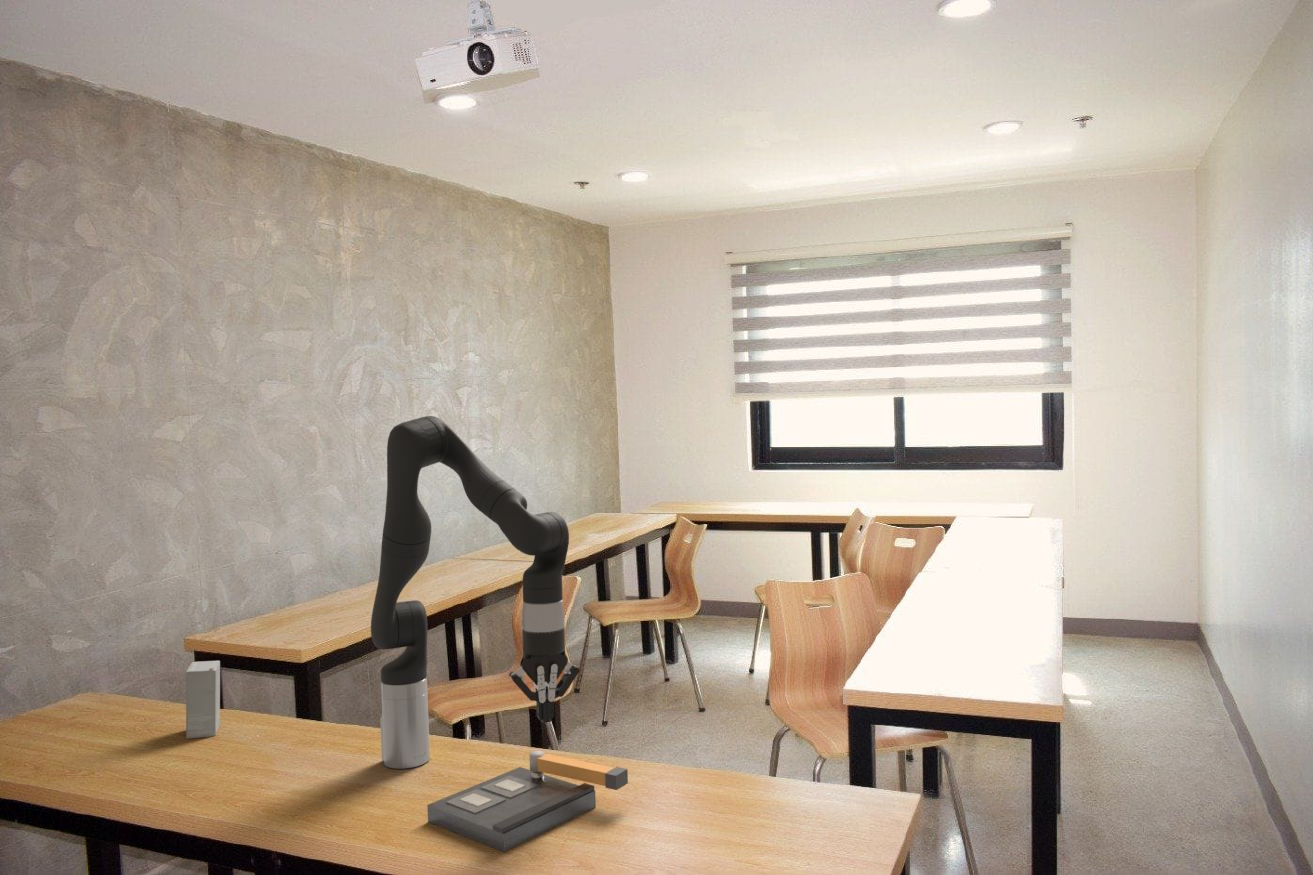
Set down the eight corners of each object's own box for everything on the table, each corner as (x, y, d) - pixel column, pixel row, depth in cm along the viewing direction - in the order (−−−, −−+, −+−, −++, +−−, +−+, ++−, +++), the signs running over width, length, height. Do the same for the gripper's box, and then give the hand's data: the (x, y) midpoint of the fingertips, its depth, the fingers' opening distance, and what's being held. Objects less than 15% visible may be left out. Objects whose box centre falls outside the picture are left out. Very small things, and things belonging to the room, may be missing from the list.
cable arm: (616, 791, 172) (616, 774, 172) (525, 770, 183) (525, 755, 183) (627, 784, 175) (627, 767, 175) (537, 764, 186) (537, 749, 186)
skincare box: (190, 728, 227) (187, 661, 226) (224, 724, 229) (221, 658, 229) (184, 740, 219) (181, 670, 218) (219, 736, 221) (216, 667, 221)
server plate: (427, 821, 171) (427, 799, 171) (521, 781, 188) (520, 762, 188) (503, 852, 159) (503, 828, 158) (596, 806, 176) (595, 785, 176)
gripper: (512, 634, 166) (514, 733, 167) (585, 625, 171) (587, 722, 172) (501, 624, 173) (504, 720, 174) (572, 617, 178) (574, 710, 179)
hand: (545, 721), depth 173 cm, fingers closed
